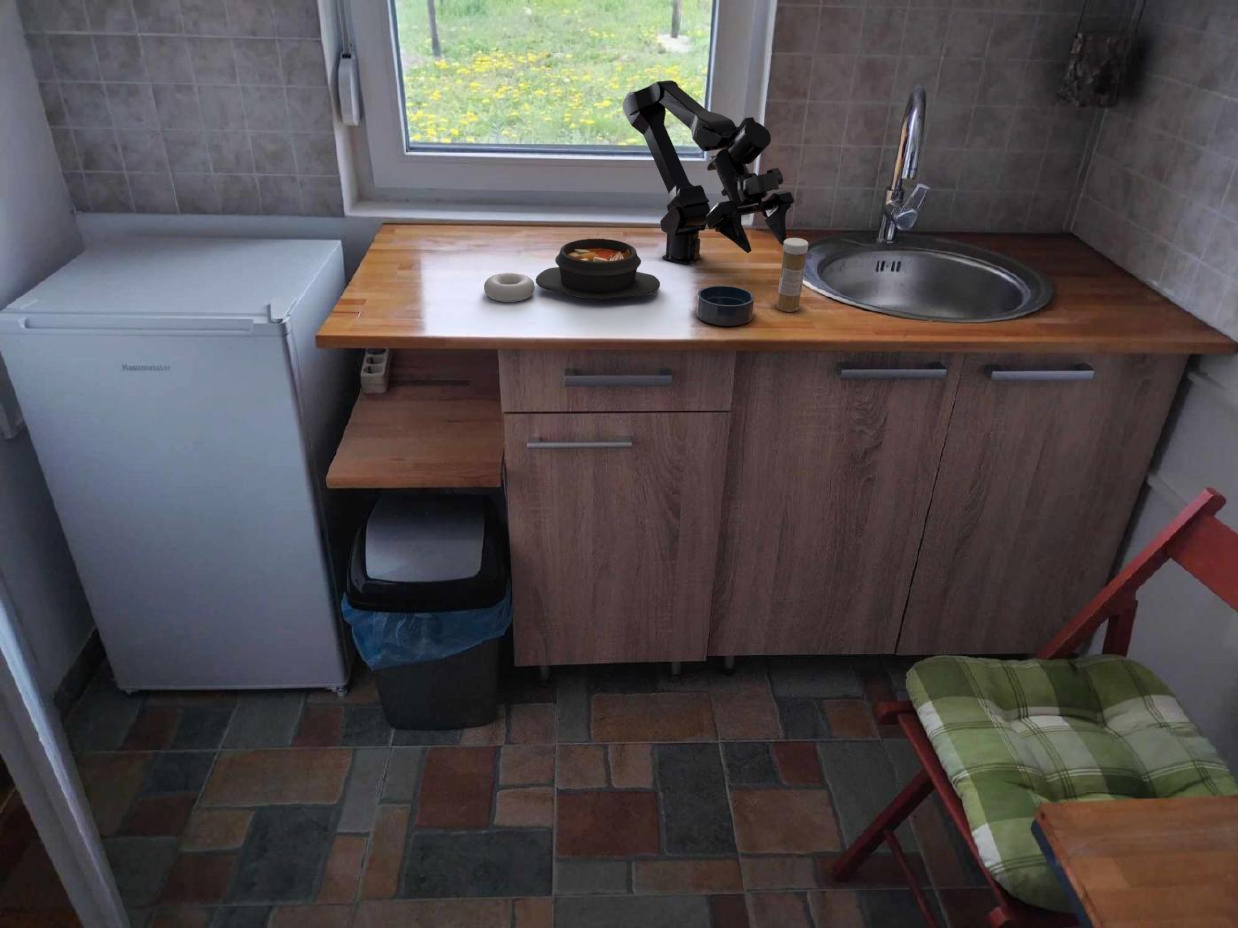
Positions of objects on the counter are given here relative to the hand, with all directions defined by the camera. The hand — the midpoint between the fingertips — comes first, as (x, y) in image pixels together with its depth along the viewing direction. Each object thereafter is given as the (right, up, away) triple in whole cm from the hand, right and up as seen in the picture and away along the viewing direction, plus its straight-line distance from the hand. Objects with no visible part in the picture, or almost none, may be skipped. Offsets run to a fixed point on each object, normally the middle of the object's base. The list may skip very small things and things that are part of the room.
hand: (767, 248), depth 179 cm
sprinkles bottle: (+4, -12, 0) cm, 13 cm away
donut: (-50, -9, +2) cm, 51 cm away
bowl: (-9, -14, -4) cm, 17 cm away
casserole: (-33, -7, +6) cm, 34 cm away
